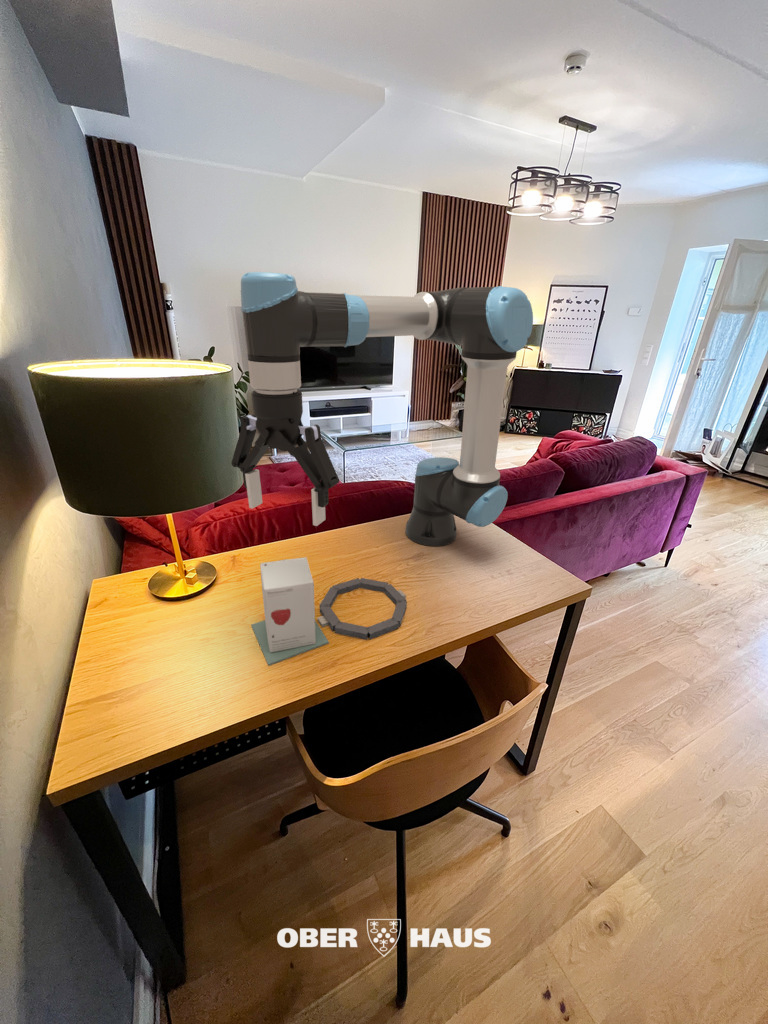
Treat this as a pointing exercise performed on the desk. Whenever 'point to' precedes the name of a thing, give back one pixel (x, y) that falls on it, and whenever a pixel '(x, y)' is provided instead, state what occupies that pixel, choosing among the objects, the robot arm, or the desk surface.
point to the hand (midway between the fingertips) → (286, 513)
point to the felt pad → (282, 655)
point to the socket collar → (357, 630)
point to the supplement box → (288, 603)
